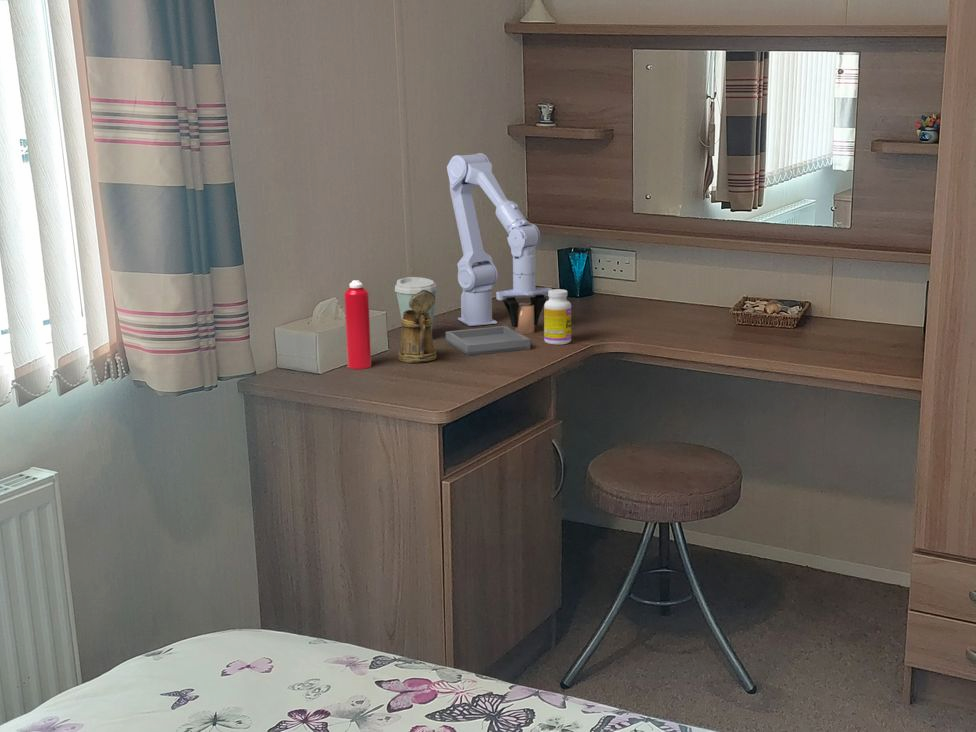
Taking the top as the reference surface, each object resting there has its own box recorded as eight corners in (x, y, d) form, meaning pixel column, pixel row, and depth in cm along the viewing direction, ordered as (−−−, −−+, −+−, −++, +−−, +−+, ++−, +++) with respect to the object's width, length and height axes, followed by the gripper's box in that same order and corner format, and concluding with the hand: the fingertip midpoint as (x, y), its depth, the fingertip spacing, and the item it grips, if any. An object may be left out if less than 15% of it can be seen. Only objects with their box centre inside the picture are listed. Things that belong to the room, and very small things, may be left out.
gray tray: (445, 341, 292) (445, 331, 291) (505, 335, 297) (505, 325, 297) (467, 355, 277) (467, 345, 277) (530, 349, 283) (530, 339, 282)
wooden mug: (406, 369, 266) (404, 291, 261) (394, 356, 278) (391, 281, 274) (445, 366, 268) (443, 288, 264) (430, 352, 281) (428, 278, 276)
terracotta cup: (511, 330, 303) (511, 303, 301) (529, 328, 304) (529, 302, 303) (519, 334, 298) (519, 307, 296) (537, 332, 300) (537, 305, 298)
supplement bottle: (569, 345, 286) (569, 293, 283) (542, 344, 287) (542, 293, 284) (572, 339, 292) (573, 288, 289) (546, 338, 293) (546, 288, 290)
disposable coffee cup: (447, 338, 295) (446, 279, 292) (417, 346, 288) (415, 285, 284) (417, 332, 302) (416, 274, 299) (387, 339, 295) (385, 280, 291)
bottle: (376, 366, 269) (372, 279, 264) (357, 370, 266) (353, 283, 261) (361, 362, 273) (358, 277, 268) (342, 366, 270) (338, 280, 265)
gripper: (503, 277, 291) (503, 331, 295) (556, 273, 296) (556, 326, 300) (493, 273, 298) (493, 325, 301) (545, 269, 303) (545, 320, 306)
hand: (524, 325), depth 301 cm, fingers closed on terracotta cup, 5 cm apart
